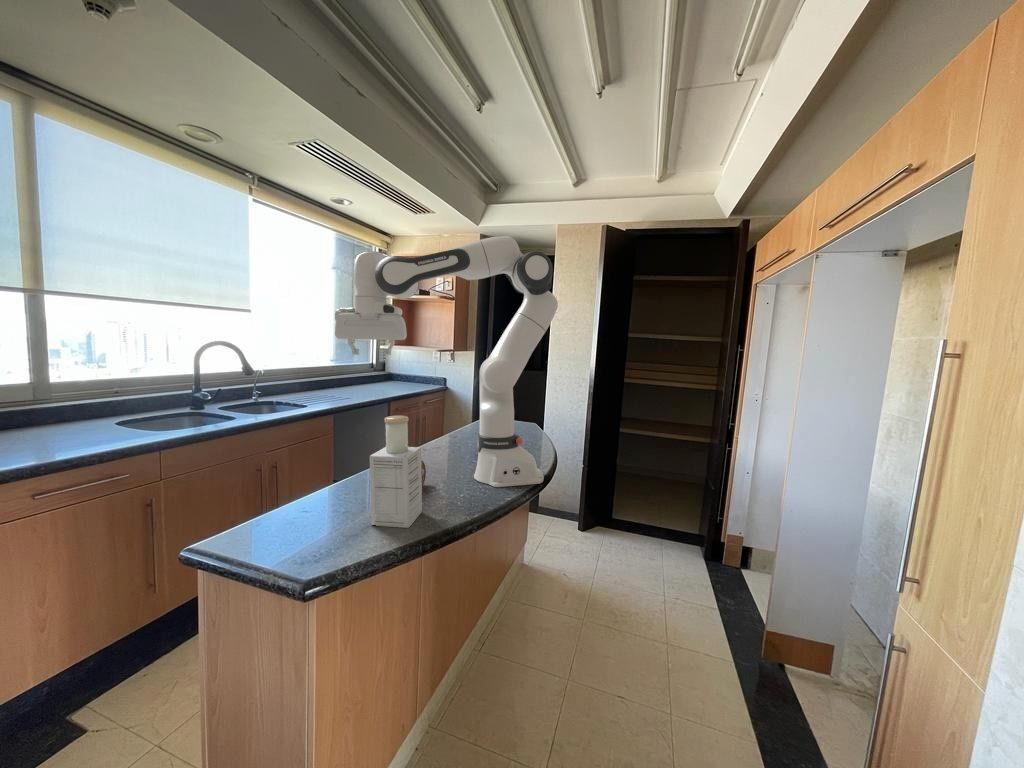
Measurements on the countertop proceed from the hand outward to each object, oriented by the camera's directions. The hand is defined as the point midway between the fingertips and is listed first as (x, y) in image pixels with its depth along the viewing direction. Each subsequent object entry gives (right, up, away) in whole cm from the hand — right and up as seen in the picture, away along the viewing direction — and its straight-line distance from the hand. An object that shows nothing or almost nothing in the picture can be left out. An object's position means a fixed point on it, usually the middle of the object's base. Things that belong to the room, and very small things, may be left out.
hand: (371, 355), depth 114 cm
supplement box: (+14, -42, -22) cm, 49 cm away
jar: (+15, -25, -23) cm, 37 cm away
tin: (+13, -40, -5) cm, 42 cm away
